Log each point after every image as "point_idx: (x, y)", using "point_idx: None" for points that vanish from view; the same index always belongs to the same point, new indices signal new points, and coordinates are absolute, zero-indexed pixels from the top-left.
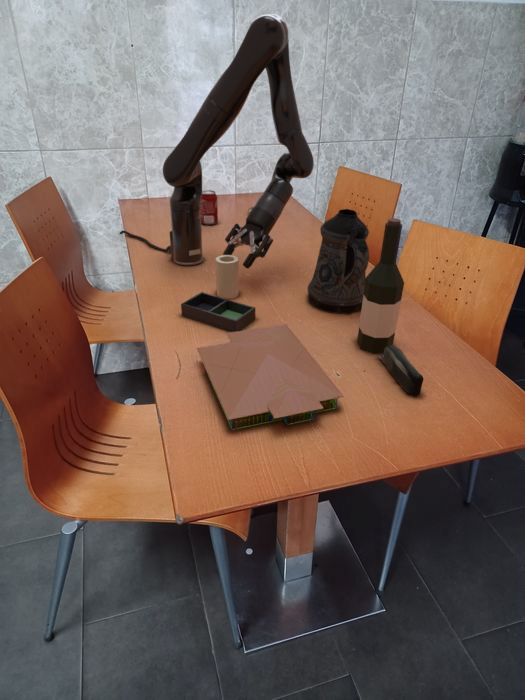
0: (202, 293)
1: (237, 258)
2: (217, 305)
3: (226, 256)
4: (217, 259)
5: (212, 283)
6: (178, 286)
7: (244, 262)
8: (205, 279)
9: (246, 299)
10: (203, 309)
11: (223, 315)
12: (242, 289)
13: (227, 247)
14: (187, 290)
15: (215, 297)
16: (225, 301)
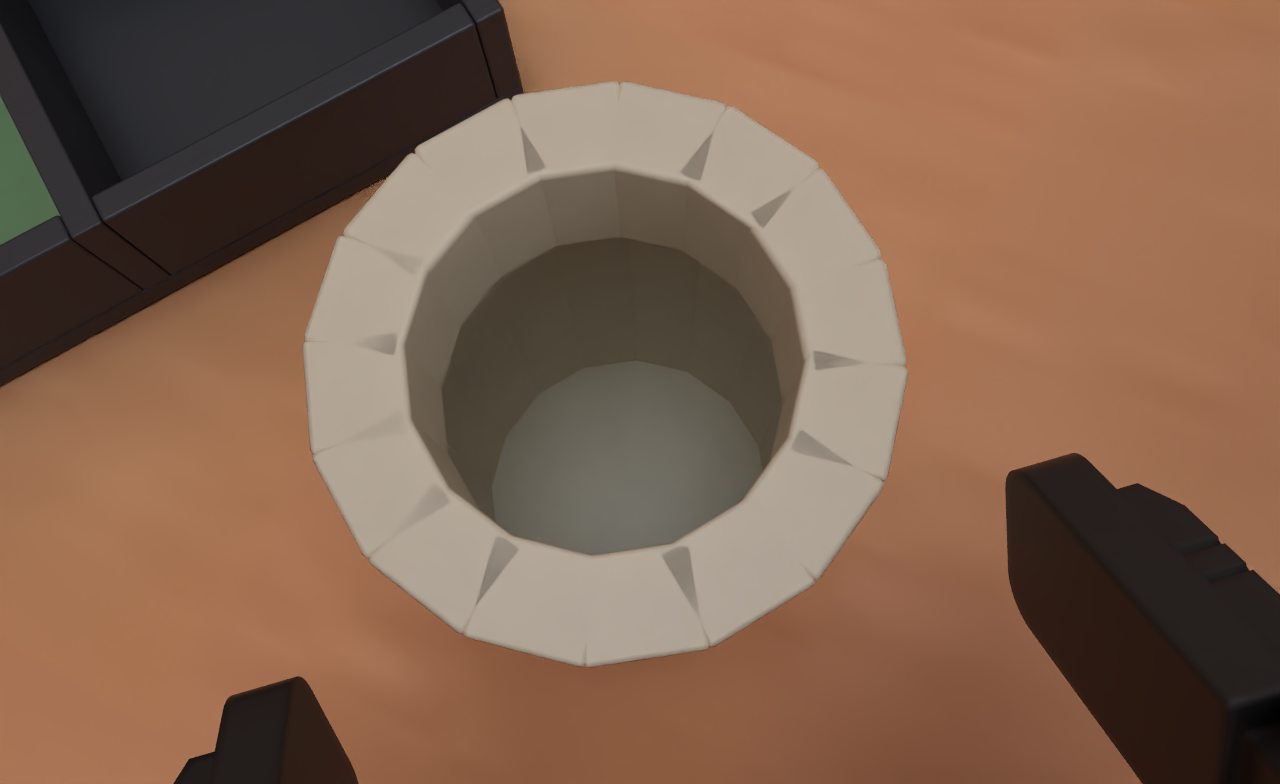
0: (456, 5)
1: (508, 625)
2: (1, 38)
3: (793, 420)
4: (668, 123)
5: (1069, 450)
6: (1130, 14)
7: (265, 723)
8: (1247, 414)
9: (352, 669)
10: (306, 24)
11: (16, 157)
12: (689, 776)
13: (1236, 615)
14: (965, 72)
15: (254, 114)
16: (49, 177)
